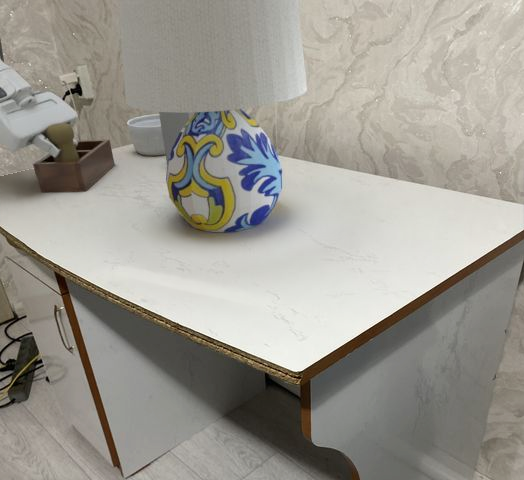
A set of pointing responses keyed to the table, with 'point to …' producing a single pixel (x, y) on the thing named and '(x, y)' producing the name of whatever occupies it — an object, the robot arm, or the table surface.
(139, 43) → the table lamp
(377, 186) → the table surface
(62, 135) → the cork
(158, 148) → the ramekin
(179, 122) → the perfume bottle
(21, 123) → the robot arm
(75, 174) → the wooden box
